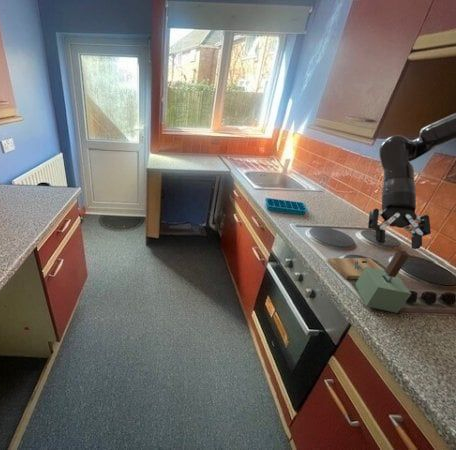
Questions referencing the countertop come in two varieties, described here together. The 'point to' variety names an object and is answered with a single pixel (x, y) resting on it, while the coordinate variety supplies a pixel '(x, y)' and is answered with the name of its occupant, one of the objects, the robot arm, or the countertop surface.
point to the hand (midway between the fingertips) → (398, 245)
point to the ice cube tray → (285, 206)
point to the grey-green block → (381, 290)
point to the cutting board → (352, 266)
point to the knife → (395, 265)
